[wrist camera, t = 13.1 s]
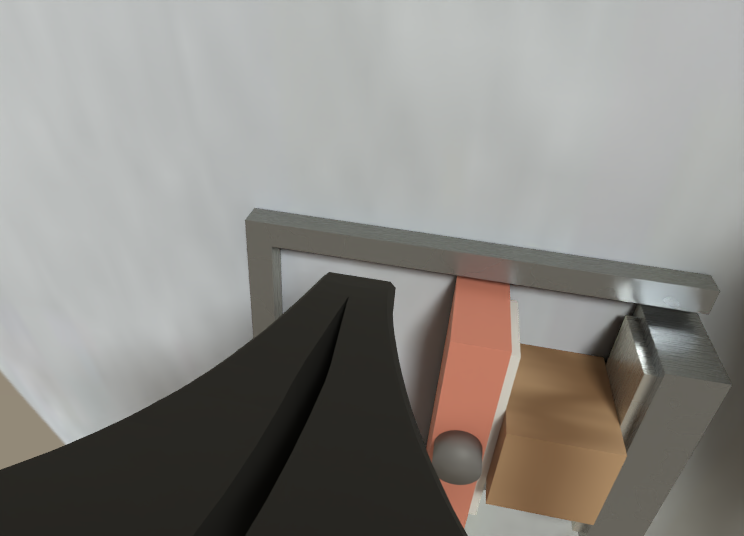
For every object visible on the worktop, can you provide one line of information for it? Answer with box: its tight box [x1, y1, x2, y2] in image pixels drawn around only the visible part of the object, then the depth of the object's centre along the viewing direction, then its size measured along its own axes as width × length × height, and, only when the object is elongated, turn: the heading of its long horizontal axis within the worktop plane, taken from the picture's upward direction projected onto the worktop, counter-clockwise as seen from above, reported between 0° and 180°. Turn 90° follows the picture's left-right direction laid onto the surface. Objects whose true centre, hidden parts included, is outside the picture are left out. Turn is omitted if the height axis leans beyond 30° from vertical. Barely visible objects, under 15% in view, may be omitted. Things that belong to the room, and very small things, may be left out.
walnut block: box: [486, 344, 627, 525], centre depth 22 cm, size 4×4×5 cm
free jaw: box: [426, 275, 521, 528], centre depth 22 cm, size 2×10×5 cm, turn 176°
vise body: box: [245, 208, 732, 536], centre depth 23 cm, size 17×13×4 cm
